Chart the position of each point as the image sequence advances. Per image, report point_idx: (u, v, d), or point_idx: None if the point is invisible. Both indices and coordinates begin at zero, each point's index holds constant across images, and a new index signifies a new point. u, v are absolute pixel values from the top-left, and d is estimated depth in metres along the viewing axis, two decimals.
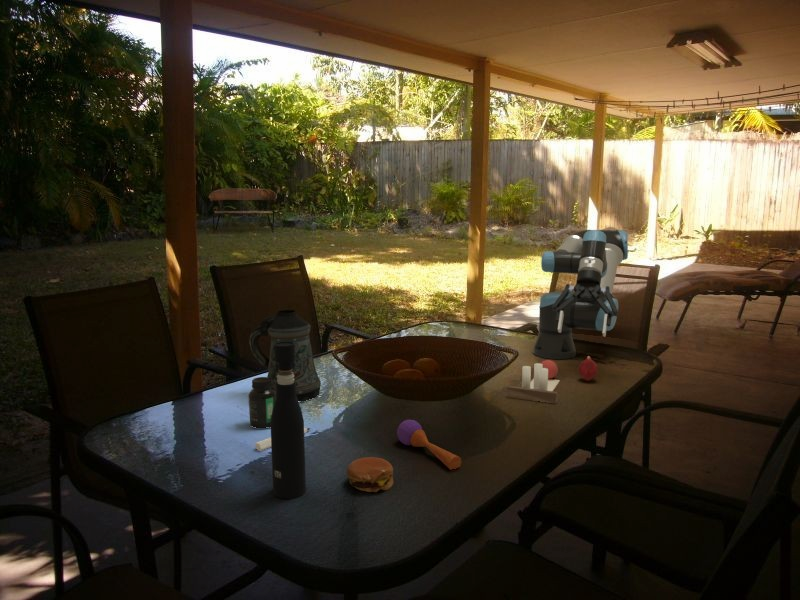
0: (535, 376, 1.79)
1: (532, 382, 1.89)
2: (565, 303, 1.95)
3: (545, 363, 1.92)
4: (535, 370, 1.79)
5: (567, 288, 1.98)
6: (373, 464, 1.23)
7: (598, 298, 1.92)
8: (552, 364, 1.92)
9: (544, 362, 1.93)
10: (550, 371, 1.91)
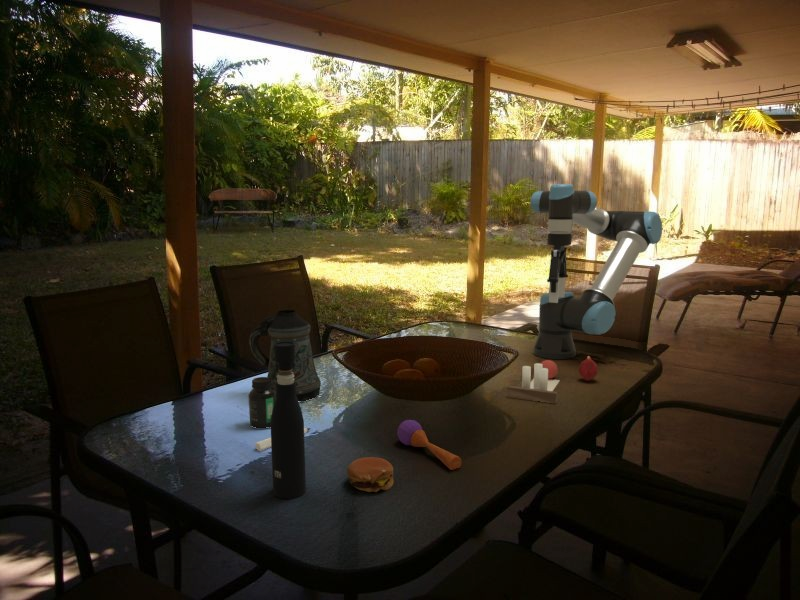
0: (535, 376, 1.79)
1: (532, 382, 1.89)
2: None
3: (545, 363, 1.92)
4: (535, 370, 1.79)
5: None
6: (374, 464, 1.23)
7: None
8: (552, 364, 1.92)
9: (544, 362, 1.93)
10: (550, 371, 1.91)
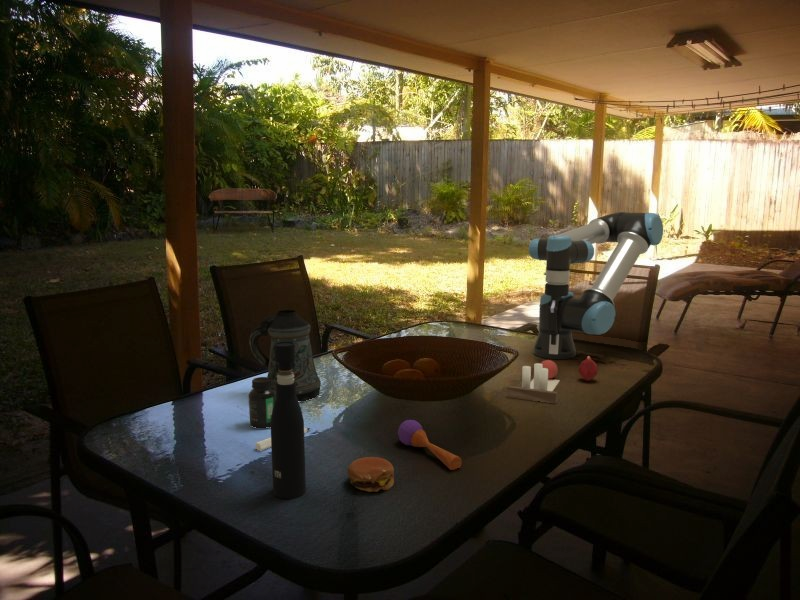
0: (535, 376, 1.79)
1: (532, 382, 1.89)
2: None
3: (545, 363, 1.92)
4: (535, 370, 1.79)
5: None
6: (374, 464, 1.23)
7: None
8: (552, 364, 1.92)
9: (544, 362, 1.93)
10: (550, 371, 1.91)
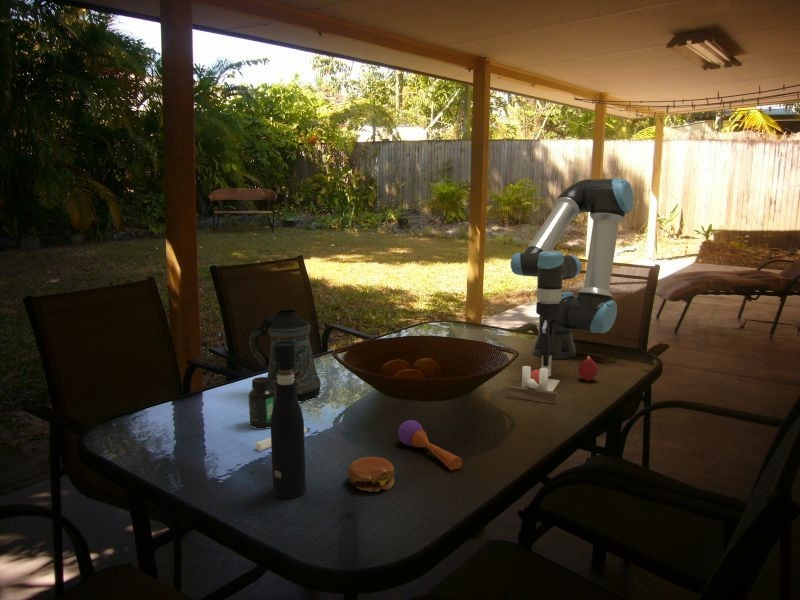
0: None
1: None
2: None
3: None
4: None
5: None
6: (374, 463, 1.23)
7: None
8: None
9: None
10: None
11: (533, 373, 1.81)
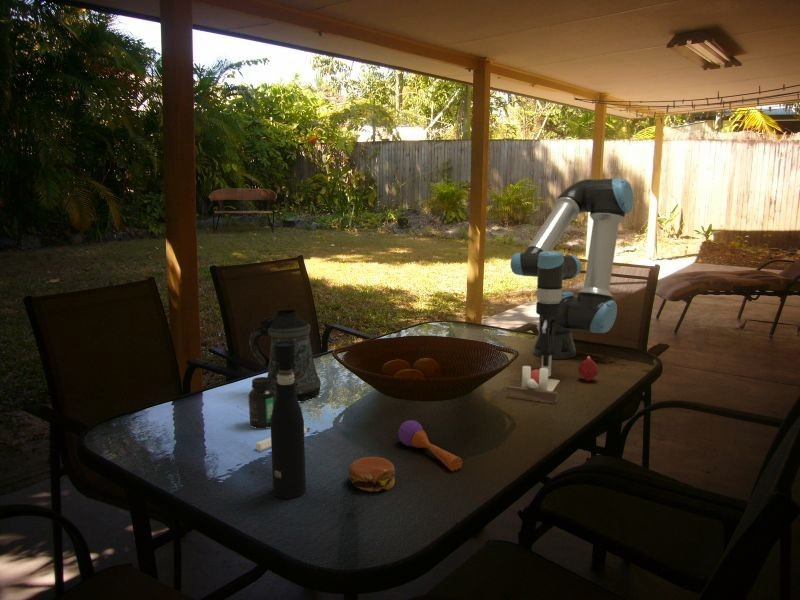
0: None
1: None
2: None
3: None
4: None
5: None
6: (375, 463, 1.23)
7: None
8: None
9: None
10: None
11: (533, 373, 1.81)
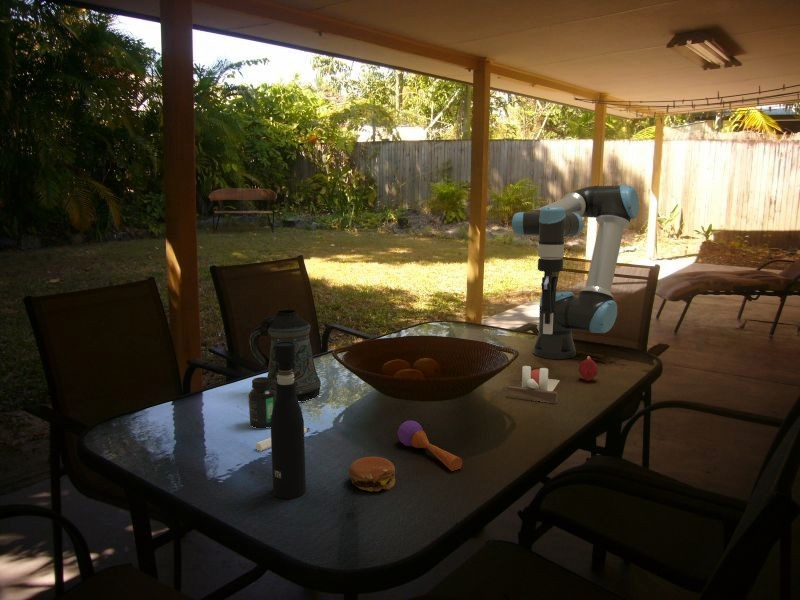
0: None
1: None
2: None
3: None
4: None
5: None
6: (375, 463, 1.23)
7: None
8: None
9: None
10: None
11: (533, 373, 1.81)
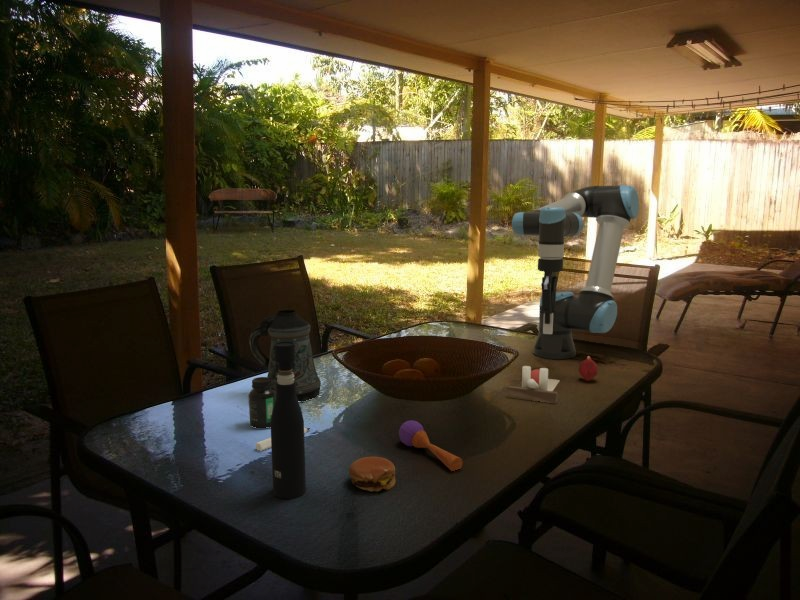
0: None
1: None
2: None
3: None
4: None
5: None
6: (376, 463, 1.23)
7: None
8: None
9: None
10: None
11: (533, 373, 1.81)
